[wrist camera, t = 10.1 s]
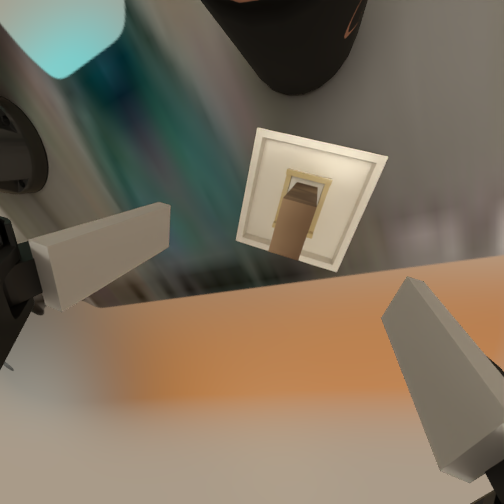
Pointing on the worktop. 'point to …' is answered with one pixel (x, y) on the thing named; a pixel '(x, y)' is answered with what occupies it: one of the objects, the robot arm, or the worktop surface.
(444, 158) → the worktop surface
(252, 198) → the candle dish
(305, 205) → the wooden wedge
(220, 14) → the coffee jar
